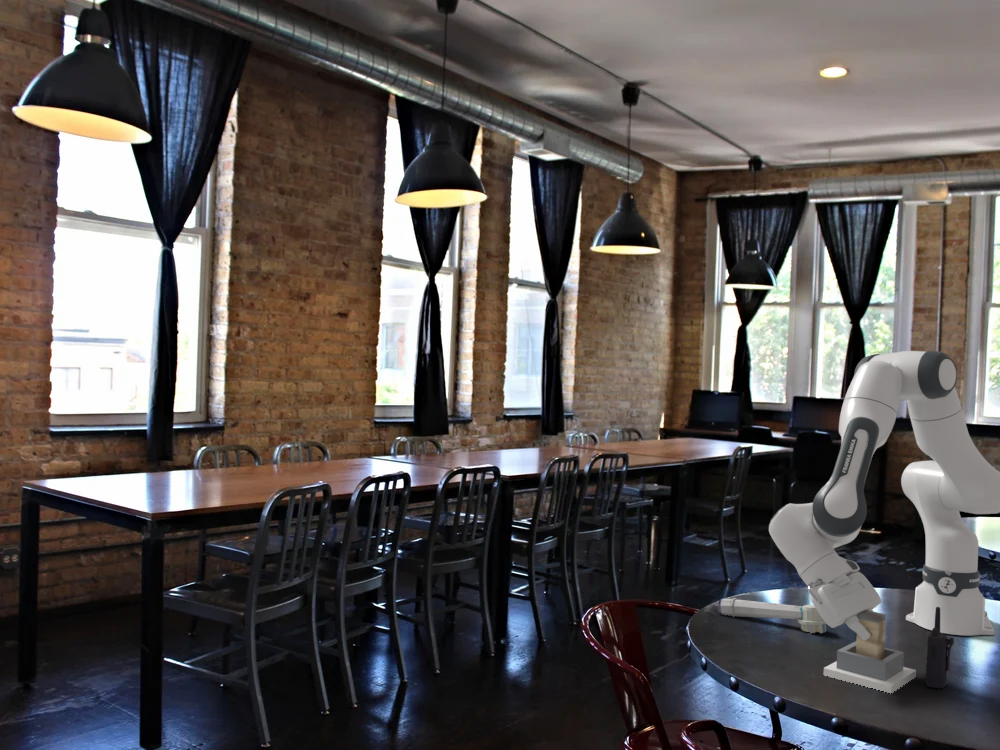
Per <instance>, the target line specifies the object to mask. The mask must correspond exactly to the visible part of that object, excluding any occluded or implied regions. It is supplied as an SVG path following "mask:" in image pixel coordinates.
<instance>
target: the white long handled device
mask: <svg viewBox="0 0 1000 750" xmlns="http://www.w3.org/2000/svg"><path fill="white" fill-rule="evenodd" d="M717 609H718V613H719V615H721V616H722V615H723V616H727V615H728V616H729V617H733V618H736V617H744V618H745V617H746V618H765V619H768V618H769V619H789V620H797V623H798V624H799V627H800V630H801V629H802V630H803V631H802V630H801V631H802V632H806V633H807V632H810V633H809V634H812V633H814V634H815V633H818V634H824V633H826V632H827V624H826V622H825V621H824V620H823V618H822V617H821V615H820V614H819V612H818V611H817V609H816V608H815V606H814V605H813V604H805V605H802V606H801V605H795V604H784V603H783V604H782V603H772V602H764V601H755V600H746V599H745V600H744V599H737V597H733V598H720V599H719V600H718V603H717ZM735 616H736V617H735Z"/></svg>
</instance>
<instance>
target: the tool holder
mask: <svg viewBox="0 0 1000 750" xmlns="http://www.w3.org/2000/svg"><path fill="white" fill-rule="evenodd" d="M904 657H905V652H904V651H901V650H897V649H892V648H888V647H885V651H884V659H883V660H880V659H876V658H872V657H868V656H864V655H860V654H856V640H855V641H854V642H851V643H849V644H848V645H845V646H843V647H841V648H839V649H838V650H836V660H835V661H834V662H832V663H830V664H829V665H827V666H824V667H823V675H824V677H827V676H828V677H827V678H832V679H834V678H835V679H834V680H839V681H841V680H842V682H845V681H846V682H845V683H849V682H850V683H849V684H852V683H854V684H853V685H856V684H858V685H857V686H859V685H861V686H860V687H863V686H865V687H864V688H867V687H868V689H870V688H873V689H872V690H874V689H876V690H875V691H878V690H880V691H879V692H881V691H884V692H883V693H885V692H887V693H886V694H888V693H890V694H889V695H892V694H894V693H895V692H896V691H898V690H900V689H901V688H902V687H904V686H906V685H907V684H908V682H909V681H910V682H911V680H912V679H913V680H914V678H915V677H916V678H917V670H916V669H914V668H909V667H905V666H904V663H905V661H904V659H905V658H904ZM916 678H915V679H916ZM913 680H912V681H913ZM910 682H909V683H910ZM906 683H907V684H906ZM905 684H906V685H905ZM903 685H904V686H903ZM900 687H901V688H900ZM897 689H898V690H897ZM894 691H895V692H894ZM891 693H892V694H891Z"/></svg>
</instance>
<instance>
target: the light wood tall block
mask: <svg viewBox="0 0 1000 750" xmlns="http://www.w3.org/2000/svg"><path fill="white" fill-rule="evenodd" d="M857 618H858V619H859V622H860V623H861V624H862V625H863V626H864V627H865V628H868V629H869V630H870V632H871V633H872V636H871V637H870V638H868V639H867V640H862V638H861V637H860V636H859V635H858V633H856V640H855V641H856V654H860V655H864V656H868V657H872V658H876V659H880V660H883V659H884V651H885V648H886V646H885V645H886V644H885V643H886V622H887V621H886V620H887V619H886V618H887V615H886V614H885V613H881V612H877V611H874V612H873V611H868V610H865V611H863V612H861V613H859V614H857Z"/></svg>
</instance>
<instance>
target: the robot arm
mask: <svg viewBox="0 0 1000 750" xmlns="http://www.w3.org/2000/svg"><path fill="white" fill-rule="evenodd" d="M853 373H854V375H853V377H852V380H851V381H850V385H849V386H848V388H847V391H846V393H845V396H844V399H843V403H842V406H841V408H840V409H841V411H840V415H839V420H838V421H839V422H838V434H839V435H840V437H841V438H840V439H841V445H840V449H839V452H838V455H837V458H836V461H835V464H834V467H833V471H832V473H831V476H830V478H829V480H828V481H827V482H826V483H825V485H823V486H822V487H821V488H820V490H819V491H817V493H816V495H815V496H814V498H813V501H812V502H809V503H808V502H807V503H788V504H787V503H786V504H785V505H783V506H782V507H780V509H778V510H777V511H776V513H774V515H772V518H771V519H770V521H769V524H768V532H769V535H770V537H771V540H773V542H774V543H775V546H776V547H777V549H779V552H780V553H781V554H782V555H783V556H784V557H785V559H786V560H787V561H789V562H790V563H791V564H792V565H793V566H794V567H795V569H796V571H797V573H798V576H799V577H800V578H801V580H802V581H803V582H804V583H805V585H806V587H808V590H807V591H808V593H809V595H810V600H811V602H812V605H814V606H815V608H816V609H817V611H818V612H819V614H820V615H821V617H822V618H823V620H824V621H825V622H826V626H829V627H830V628H833V629H834V628H837V627H839V626H841V625H843V624H846V626H847V627H848V628H849V629H850V630H852V631H853V632H854V633H856V634H857V633H858V635H859V636H860V637H861V638H862V640H867V639H868V638H870V637H871V636H872V633H871V632H870V630H869V629H868V628H865V627H864V626H863V625H862V624H861V623H860V622H859V619H858V618H857V614H859V613H861V612H863V611H865V610H868V611H873V610H874V609H875V608H877V607H878V606H880V604H882V599H881V596H880V595H879V593H878V592H877V590H876V589H875V588H874V586H873V584H871V582H870V581H869V579H867V577H866V576H865V575H864V574H863V573H861V572H860V570H861V569H860V566H859V565H858V563H857V562H856V561H854V560H851V559H850V560H849V559H846V558H845V557H842V556H840V555H838V554H839V553H837V552H836V551H835V549H838V548H839V547H842V546H844V545H847V544H849V543H852V542H853V541H854V540H855V539H856V538H857V536H858V535H859V533H860V532H861V528H862V526H863V524H864V523H865V521H866V518H867V514H868V513H867V512H868V509H867V508H868V506H867V500H866V496H865V492H864V491H865V485H866V479H867V475H868V473H869V470H870V469H869V468H870V465H871V463H872V458H873V457H874V456H873V455H874V454H875V452H876V450H877V449H878V448H881V447H882V446H884V445H885V443H886V442H887V441H888V438H889V436H890V434H891V433H892V431H893V428H894V425H895V423H896V419H897V416H898V412H899V409H900V402H901V401H906V403H907V405H906V406H907V410H908V415H909V418H910V422H911V426H912V429H913V433H914V438H915V443H916V445H917V447H918V448H919V449H920V450H921V451H922V452H923V453H924V454H925V455H927V456H929V458H931V459H932V460H931V459H930V460H921V461H913V462H911V463H909V464H908V465H907V466H906V467H905V468H904V470H903V472H902V474H901V478H900V483H901V484H900V485H901V488H902V491H903V493H904V495H905V497H907V498H908V499H909V500H910V501H911V503H913V505H914V506H915V508H916V510H917V512H918V514H919V517H920V518H921V522H922V524H923V529H924V534H925V537H924V538H925V563H924V564H923V566H922V567H923V568H922V580H923V581H922V582H921V583H920V584H918V585H917V586H916V587H915V590H914V591H915V592H914V593H915V594H914V602H913V603H914V604H913V612H911V613H908V614H906V616H905V620H906V621H908V622H910V623H912V624H913V623H914V624H916V625H918V626H919V627H922V628H923V629H926V630H930V631H932V629H933V628H934V627H935V612H936V607H940V633H943V634H945V635H946V634H947V635H952V636H954V635H956V636H966V637H967V636H969V637H971V636H981V635H982V636H983V635H984V636H993V635H995V629H994V627H993V625H992V623H991V621H990V619H989V617H988V612H987V611H986V597H984V595H983V593H981V591H980V589H979V586H980V580H981V576H980V571H979V570H978V566H979V565H978V563H979V561H978V560H979V539H978V536H977V534H976V533H975V532H974V531H973V530H972V529H971V528H970V527H968V526H967V525H966V523H965V522H964V520H963V519H962V516H961V514H960V512H964V513H969V514H974V515H991V514H994V515H995V514H1000V471H999V470H998V469H996V468H995V467H993V465H991V464H990V463H989V462H988V461H987V460H986V459H985V457H984V456H983V455H982V454H981V452H980V451H979V450H978V448H977V447H976V445H975V443H974V442H973V440H972V438H971V435H970V433H969V431H968V426H967V423H966V420H965V416H964V412H963V408H962V404H961V401H960V397H959V395H958V391H957V389H956V387H955V386H956V384H957V380H958V370H957V366H956V363H955V362H954V360H953V359H952V358H951V357H950V356H949V355H948V354H947V353H945V352H942V351H936V350H926V351H923V350H902V351H898V352H896V351H895V352H889V353H882V354H881V353H880V354H879V353H874V354H870V355H867V356H865V357H863V358H862V359H861V360H860V361H859V362H858V363H857V365H856V367H855V369H854V372H853ZM873 612H875V611H873Z"/></svg>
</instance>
